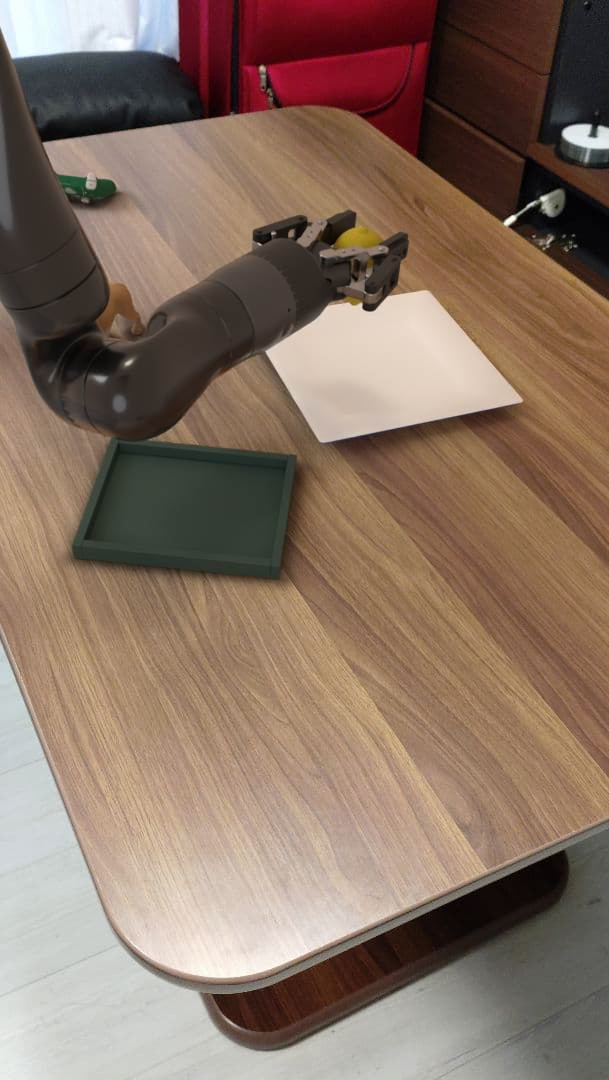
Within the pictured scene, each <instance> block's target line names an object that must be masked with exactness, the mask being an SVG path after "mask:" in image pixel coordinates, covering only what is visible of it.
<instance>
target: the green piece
mask: <svg viewBox="0 0 609 1080" xmlns="http://www.w3.org/2000/svg"><path fill="white" fill-rule="evenodd" d="M54 172H55V174H56V176H57V178H58V180H59V182H60V184H61V186H62V189H63V191H64V193H65V195H66V197H67V199H68V200H69V198H71V196H75V197H79V198H80V201H81V202H82V203H85V204H89V203H90V201H92V200H93V199H103V198H108V197H110V196H112V195H113V194H114V193H116V191H117V185H116V183H115V182H114V181H113V180H112V179H108V178H98V177H97V176H96V175H95V173H94V172H92V171H90V172H88V173H87V176H85V177H83V176H82V177H81V176H74V175H66V174H58V172H56V170H54Z"/></svg>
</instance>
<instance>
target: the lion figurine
mask: <svg viewBox="0 0 609 1080" xmlns="http://www.w3.org/2000/svg"><path fill="white" fill-rule="evenodd" d="M109 285H110V300H109V303H108V306H107V308H106V310H105V311H104V312H103V314H102V315H101V316H100V317H99V318H98V319H97V322H98V324H99V326H100V328H101V329H102V330H103V332H104V333H105V334H106V335H107V337H110V336H109V335H110V333H111V329H112V326H113V323H114V321H115V319H116V316H117V315H120V316H122V317H123V318H124V319H126V320H128V321H130V322H133V325H132V327H131V329H130V331H131V333H132V334H133V335H141V334H142V333H143V326H142V321H141V315H140V312H138V311H137V310H136V309H135V307H134V303H133V299H132V295H131V292H130V291H129V289H128V287H127V286H126V285H125V284H123V283H120V282H113V283H109Z"/></svg>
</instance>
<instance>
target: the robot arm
mask: <svg viewBox="0 0 609 1080" xmlns="http://www.w3.org/2000/svg"><path fill="white" fill-rule="evenodd" d="M25 94H26V93H25V92H24V88H23V85H22V83H21V80H20V77H19V75H18V72H17V69H16V67H15V63H14V61H13V58H12V55H11V52H10V49H9V47H8V44H7V41H6V39H5V35H4V33H3V30H2V27H1V26H0V303H1V304H2V306H3V308H4V309H5V311H6V312H7V314H8V316H9V317H10V318H11V319H12V322H13V323H14V327H15V331H16V335H17V339H18V342H19V346H20V348H21V351H22V355H23V357H24V361H25V363H26V367H27V370H28V373H29V375H30V378H31V380H32V383H33V385H34V387H35V389H36V391H37V393H38V395H39V397H40V398H41V400H42V401H43V402H44V404H45V405H46V406H47V407H48V409H50V411H51V412H52V413H53V414H54V415H55V416H56V417H57V418H58V419H59V420H61V421H62V422H64V423H65V424H67V425H69V426H71V427H74V428H76V429H80V430H84V431H86V432H90V433H94V434H96V435H101V436H104V437H108V438H110V439H111V438H114V439H117V440H121V441H125V442H141V441H145V440H152V439H154V438H156V437H159V436H161V435H163V434H165V433H167V432H168V431H170V430H171V429H172V428H174V427H175V426H176V425H177V424H178V423H179V422H180V421H181V420H182V419H183V417H185V416H186V414H187V413H189V411H190V410H191V408H192V407H193V406H194V405H195V404H196V403H197V401H199V399H200V398H201V397H202V396H203V395H204V394H205V392H206V391H207V389H208V388H209V387H210V385H211V384H212V383H213V381H214V380H217V379H218V378H219V377H222V376H223V375H225V374H226V373H228V372H230V371H231V370H232V369H234V368H236V367H238V366H239V365H241V364H242V363H243V362H245V361H247V360H249V359H252V358H254V357H257V356H259V355H261V354H263V353H266V352H265V351H267V350H269V349H270V348H272V347H273V346H275V345H276V344H278V343H280V342H281V341H283V340H284V339H286V338H287V337H289V336H291V335H292V334H294V333H295V332H297V331H299V330H300V329H302V328H303V327H305V326H306V325H308V324H310V323H311V322H313V321H314V320H316V319H317V318H318V317H319V316H320V314H321V313H322V312H323V311H324V309H325V308H326V307H327V306H329V305H330V304H331V303H334V302H338V301H339V302H340V301H344V300H343V299H345V298H347V297H348V296H349V297H352V298H355V299H358V300H361V301H363V303H362V309H363V310H365V311H367V312H373V311H375V310H376V309H377V308H378V307H379V305H380V304H381V303H382V302H383V301H384V300H385V299H386V297H387V296H390V294H391V293H392V292H393V291H394V290H395V289H396V288H397V286H398V284H399V277H400V271H401V263H402V260H405V259H406V258H407V256H408V251H409V245H410V240H409V234H408V233H407V232H404V231H398V232H396V233H395V234H393V235H392V236H389V237H388V238H387V239H385V240H383V242H381V243H380V244H379V246H374V247H370V248H366V249H363V248H362V247H361V246H360V245H356V246H352V247H347V248H343V249H335V248H333V246H334V244H335V242H336V240H337V239H338V238H339V237H340V236H341V235H342V234H343V233H344V232H346V231H348V230H350V229H352V228H356V225H357V212H356V211H353V210H352V209H347V210H345V211H343V212H338V213H336V214H334V215H332V216H331V217H330V216H329V218H326V219H322V218H317V219H315V220H314V221H313V222H312V221H308V220H309V219H308V216H306V215H304V214H296V215H293V216H291V217H287V218H284V219H282V220H278V221H274V222H272V223H269V224H266V225H263V226H260V227H257V228H254V229H252V238H251V250H250V251H249V252H247V253H245V254H243V255H241V256H239V257H237V258H235V259H233V260H232V261H230V262H228V263H226V264H224V265H221V267H219V268H217V269H216V270H214V271H213V272H212V273H210V274H209V275H208V276H207V277H205V278H204V279H203V280H201V281H199V282H198V283H196V284H194V285H192V286H190V287H188V288H187V289H185V290H183V291H181V292H179V293H178V294H175V295H174V296H172V297H170V298H169V299H167V300H166V301H164V302H163V303H161V304H160V305H158V306H157V307H156V308H155V309H154V310H153V311H152V312H151V314H150V315H149V317H148V320H147V322H146V326H145V338H143V339H140V340H136V341H130V340H125V339H121V338H116V337H111V336H108V337H107V335H106V334H105V333H104V332H103V330H102V329H101V328H100V326H99V324H98V322H97V319H98V318H99V317H100V316H101V315H102V314H103V312H104V311H105V310H106V308H107V306H108V303H109V300H110V285H109V284H110V282H109V279H108V276H107V273H106V270H105V269H104V266H103V264H102V262H101V261H100V258H99V256H98V255H97V252H96V251H95V248H94V247H93V244H92V242H91V241H90V238H89V237H88V235H87V233H86V231H85V229H84V227H83V225H82V223H81V221H80V219H79V218H78V216H77V213H76V212H75V210H74V208H73V206H72V204H71V202H70V201H69V198H68V199H67V197H66V195H65V193H64V191H63V189H62V186H61V184H60V182H59V180H58V178H57V176H56V174H55V172H56V171H55V169H54V167H53V165H52V162H51V160H50V158H49V156H48V153H47V150H46V147H45V146H44V143H43V140H42V138H41V136H40V133H39V130H38V128H37V126H36V122H35V120H34V117H33V113H32V111H31V109H30V106H29V103H28V100H27V97H26V95H25ZM54 171H55V172H54ZM292 230H293V235H292V236H289V233H290V232H291V231H292ZM372 259H374V260H373V267H368V268H367V263H368V261H369V260H372ZM351 260H353V264H351ZM351 266H352V272H351Z"/></svg>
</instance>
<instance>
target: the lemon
mask: <svg viewBox="0 0 609 1080" xmlns="http://www.w3.org/2000/svg"><path fill="white" fill-rule="evenodd" d="M383 241H384V240H383V238H382V237H381V235H379V233H377V232H376V231H375V230H372V229H371V228H368V227H367V226H366V225H359V226H357V227H356V226H355V228H352V229H350V230H348V231H346V232H344V233H343V234H342V235H341V236H340V237H339V238H338V239H337V240H336V242H335V244H334V245H332V248H335V249H343V248H347V247H352V246H356V245H360V246H361V247H362V248H363V249H366V248H370V247H374V246H379V244H380V243H381V242H383ZM373 260H374V259H372V260H369V261H368V263H367V268H368V267H373ZM351 264H353V260H351ZM351 272H352V266H351ZM342 301H344V302H346V303H350V304H351V305H353V306H356V305H358V304H360V303H363V301H361V300H358V299H355V298H352V297H349V296H348V297H347V298H345V299H343V300H342Z"/></svg>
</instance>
